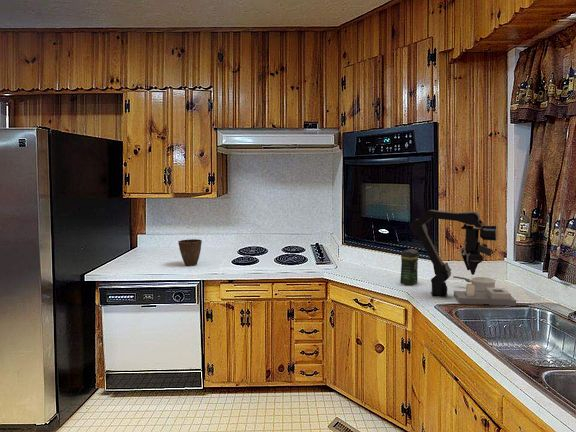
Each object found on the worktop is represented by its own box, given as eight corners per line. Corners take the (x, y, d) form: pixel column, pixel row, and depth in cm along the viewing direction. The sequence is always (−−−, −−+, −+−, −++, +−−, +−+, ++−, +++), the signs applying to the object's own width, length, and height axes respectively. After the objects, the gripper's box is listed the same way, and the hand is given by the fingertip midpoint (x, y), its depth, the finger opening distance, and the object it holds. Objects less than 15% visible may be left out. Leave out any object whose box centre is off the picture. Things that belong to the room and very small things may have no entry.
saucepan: (455, 284, 225) (455, 273, 225) (496, 289, 215) (497, 278, 214) (450, 289, 216) (451, 278, 215) (494, 294, 205) (494, 283, 204)
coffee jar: (412, 286, 220) (413, 251, 219) (398, 284, 225) (399, 249, 224) (419, 282, 228) (420, 248, 226) (405, 280, 233) (406, 247, 231)
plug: (467, 301, 195) (467, 284, 195) (465, 299, 198) (466, 283, 198) (474, 301, 195) (474, 285, 194) (472, 299, 198) (473, 283, 197)
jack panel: (458, 303, 192) (459, 292, 191) (453, 295, 204) (454, 285, 203) (516, 306, 187) (516, 295, 187) (507, 298, 199) (507, 287, 198)
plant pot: (175, 267, 270) (174, 242, 269) (184, 262, 285) (183, 239, 284) (197, 267, 269) (197, 242, 267) (205, 262, 283) (204, 239, 282)
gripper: (496, 242, 184) (494, 277, 185) (485, 236, 202) (484, 268, 204) (469, 242, 186) (467, 276, 188) (460, 236, 204) (459, 267, 206)
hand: (470, 272), depth 196 cm, fingers open, 9 cm apart
